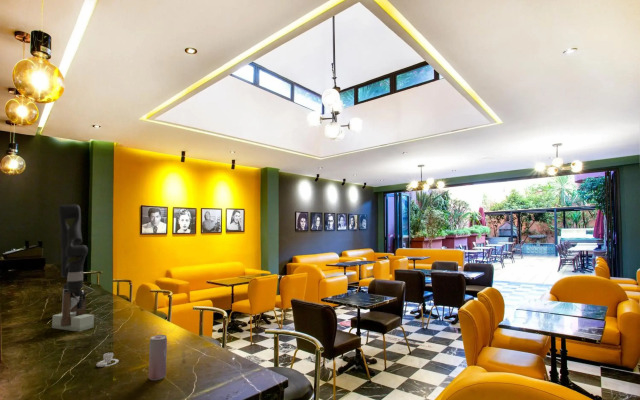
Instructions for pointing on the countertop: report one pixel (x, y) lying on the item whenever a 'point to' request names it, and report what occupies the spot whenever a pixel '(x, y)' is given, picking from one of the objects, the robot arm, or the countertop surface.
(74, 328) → the slotted beam
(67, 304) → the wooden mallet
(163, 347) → the beverage can
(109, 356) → the teacup and saucer
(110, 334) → the countertop surface
